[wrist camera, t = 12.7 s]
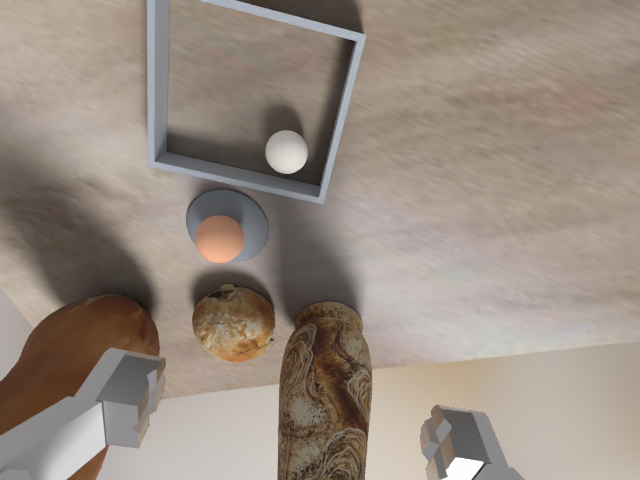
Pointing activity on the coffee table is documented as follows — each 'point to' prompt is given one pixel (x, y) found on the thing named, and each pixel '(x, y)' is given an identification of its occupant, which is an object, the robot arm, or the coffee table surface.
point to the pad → (236, 209)
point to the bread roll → (234, 323)
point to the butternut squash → (73, 358)
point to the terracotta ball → (219, 238)
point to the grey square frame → (217, 172)
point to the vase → (325, 396)
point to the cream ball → (286, 152)
